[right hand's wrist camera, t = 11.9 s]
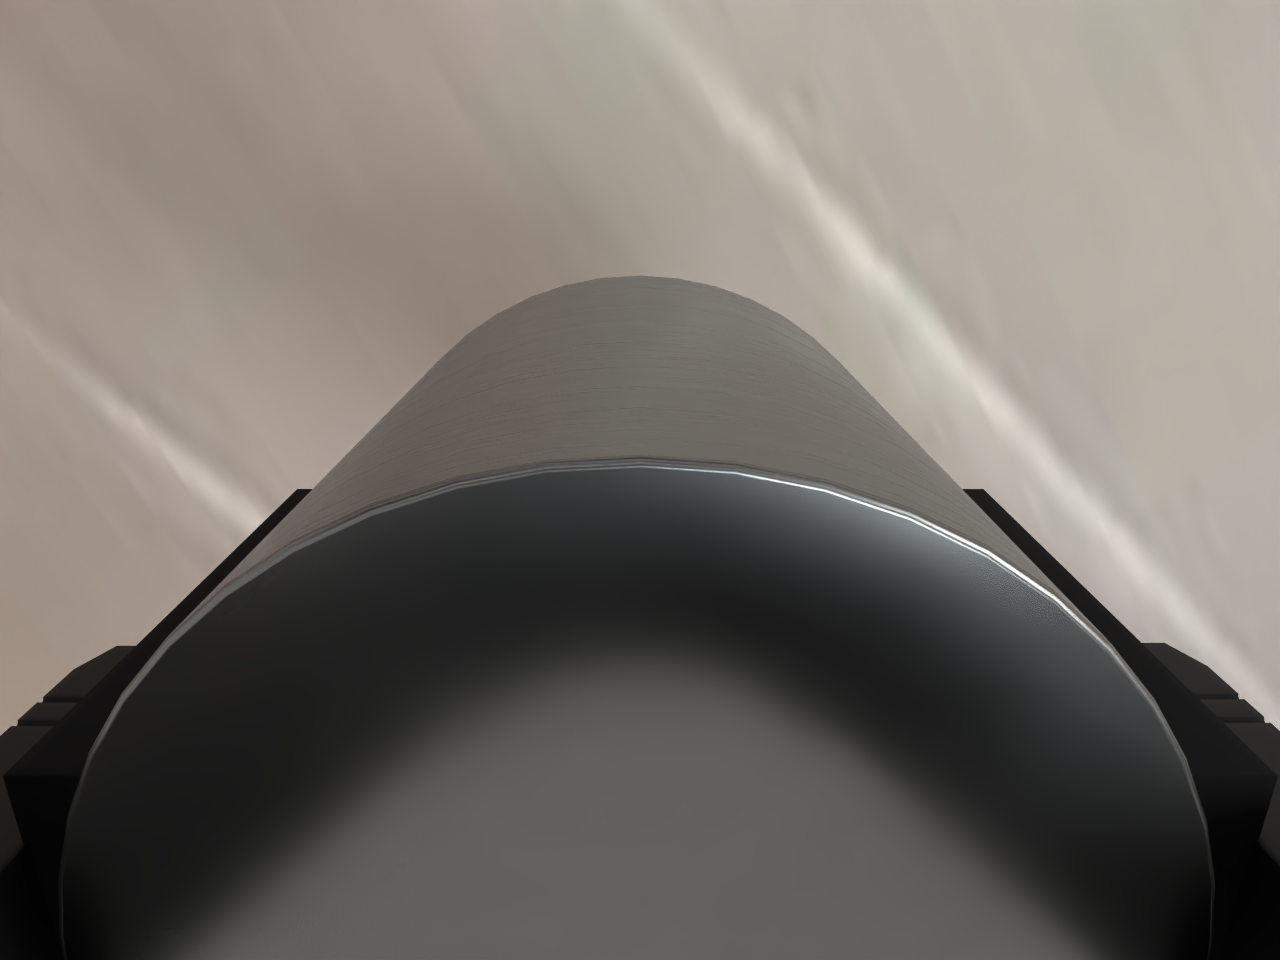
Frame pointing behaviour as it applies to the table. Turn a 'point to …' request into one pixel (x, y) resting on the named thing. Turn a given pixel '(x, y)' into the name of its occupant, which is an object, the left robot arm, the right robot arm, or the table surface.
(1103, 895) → the tin
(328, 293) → the table surface
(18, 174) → the table surface
